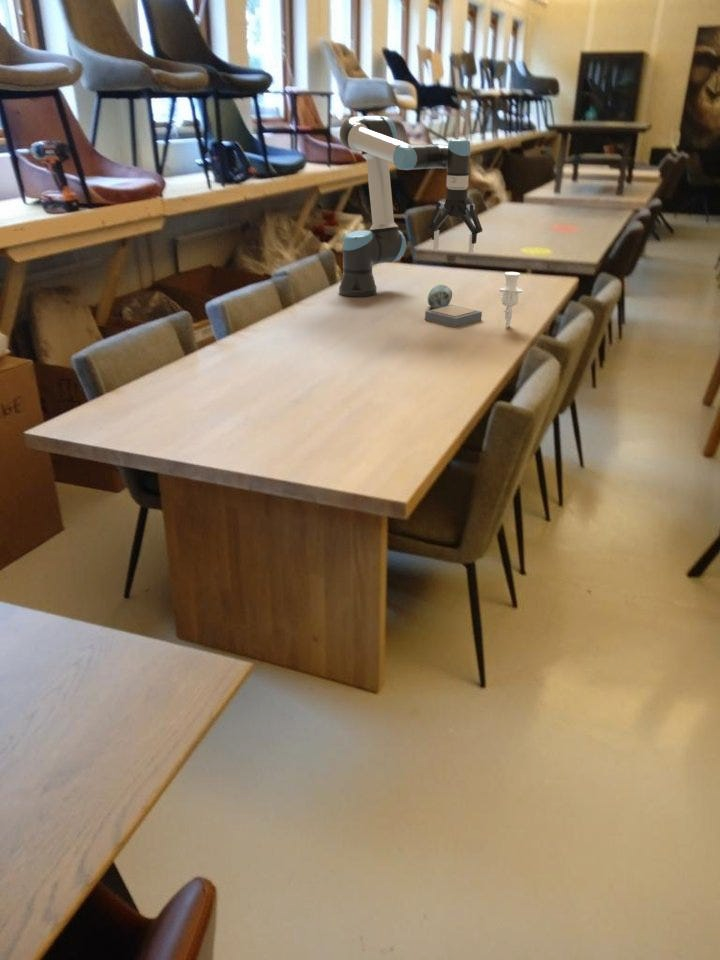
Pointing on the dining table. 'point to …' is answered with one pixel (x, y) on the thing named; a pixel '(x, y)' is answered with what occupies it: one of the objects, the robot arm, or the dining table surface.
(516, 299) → the figurine
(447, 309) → the stand
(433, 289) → the grey streaked ellipsoid
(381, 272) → the dining table surface
